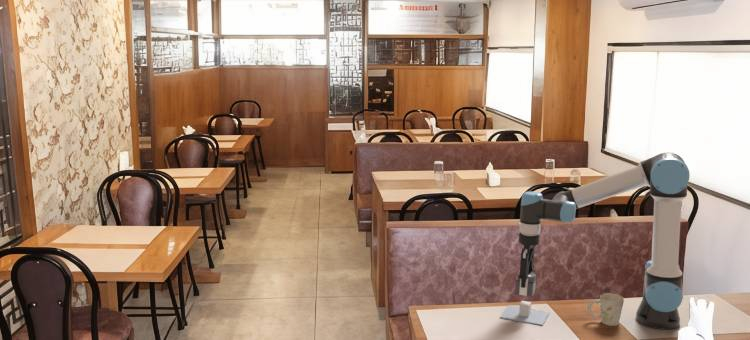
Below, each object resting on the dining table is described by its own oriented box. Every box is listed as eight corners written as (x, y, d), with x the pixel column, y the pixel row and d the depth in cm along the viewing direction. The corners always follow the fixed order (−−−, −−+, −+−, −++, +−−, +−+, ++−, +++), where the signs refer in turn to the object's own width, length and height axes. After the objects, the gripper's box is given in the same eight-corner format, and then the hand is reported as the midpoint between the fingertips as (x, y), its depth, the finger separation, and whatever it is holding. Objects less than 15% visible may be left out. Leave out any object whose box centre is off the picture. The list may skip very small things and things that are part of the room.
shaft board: (549, 313, 254) (550, 300, 253) (542, 325, 242) (543, 312, 241) (508, 305, 261) (508, 293, 260) (499, 317, 249) (500, 305, 248)
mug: (623, 328, 241) (625, 302, 239) (587, 325, 243) (589, 299, 241) (620, 319, 249) (622, 294, 247) (585, 316, 251) (587, 291, 249)
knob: (536, 290, 252) (537, 272, 250) (533, 297, 245) (534, 278, 244) (517, 287, 255) (518, 269, 253) (513, 293, 248) (515, 275, 247)
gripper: (525, 225, 256) (521, 281, 260) (513, 238, 238) (509, 298, 242) (544, 228, 253) (540, 284, 257) (533, 241, 235) (529, 302, 239)
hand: (525, 291), depth 250 cm, fingers closed on knob, 7 cm apart
